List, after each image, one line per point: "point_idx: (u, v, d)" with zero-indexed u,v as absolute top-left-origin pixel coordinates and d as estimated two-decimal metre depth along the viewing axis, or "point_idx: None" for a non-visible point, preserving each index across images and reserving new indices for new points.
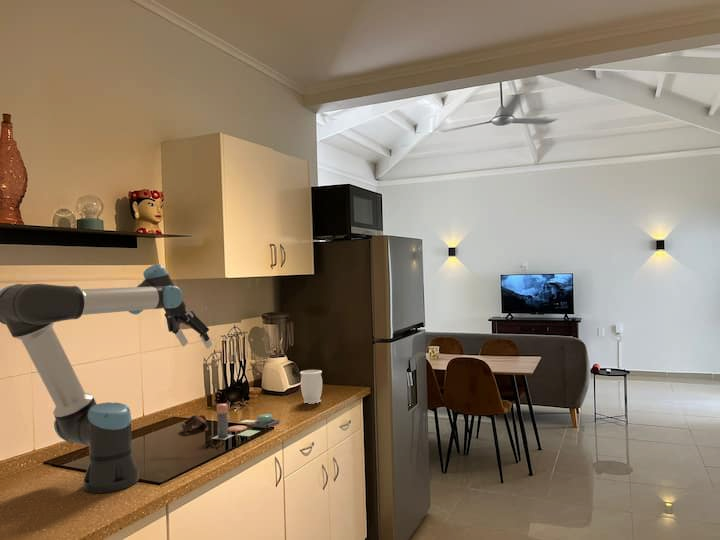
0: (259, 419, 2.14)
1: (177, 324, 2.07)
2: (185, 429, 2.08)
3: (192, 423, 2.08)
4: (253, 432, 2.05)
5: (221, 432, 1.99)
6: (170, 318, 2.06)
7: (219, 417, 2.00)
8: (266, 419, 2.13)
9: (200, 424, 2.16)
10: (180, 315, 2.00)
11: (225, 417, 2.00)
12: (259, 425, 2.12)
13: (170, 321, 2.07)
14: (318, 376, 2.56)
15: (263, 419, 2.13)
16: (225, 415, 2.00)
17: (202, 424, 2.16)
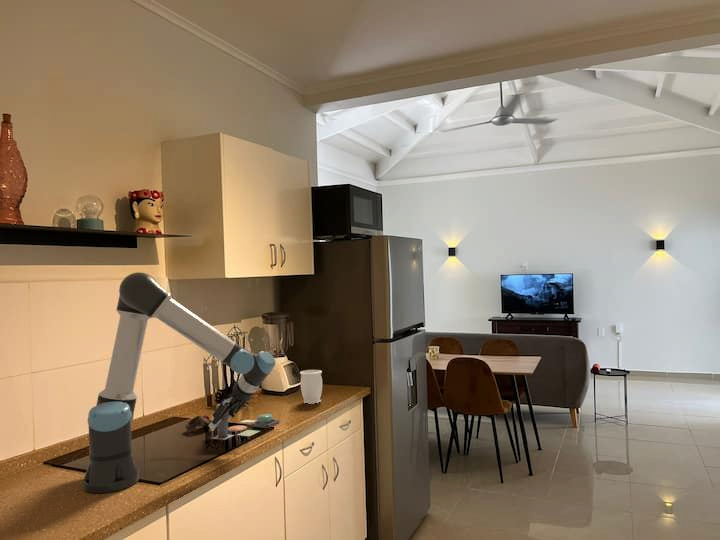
0: (259, 419, 2.14)
1: None
2: (189, 430, 2.07)
3: (196, 423, 2.07)
4: (253, 432, 2.05)
5: (221, 432, 1.99)
6: None
7: None
8: (266, 419, 2.13)
9: (204, 424, 2.15)
10: None
11: (225, 417, 2.00)
12: (259, 425, 2.12)
13: None
14: (318, 376, 2.56)
15: (263, 419, 2.13)
16: (225, 415, 2.00)
17: (206, 424, 2.15)
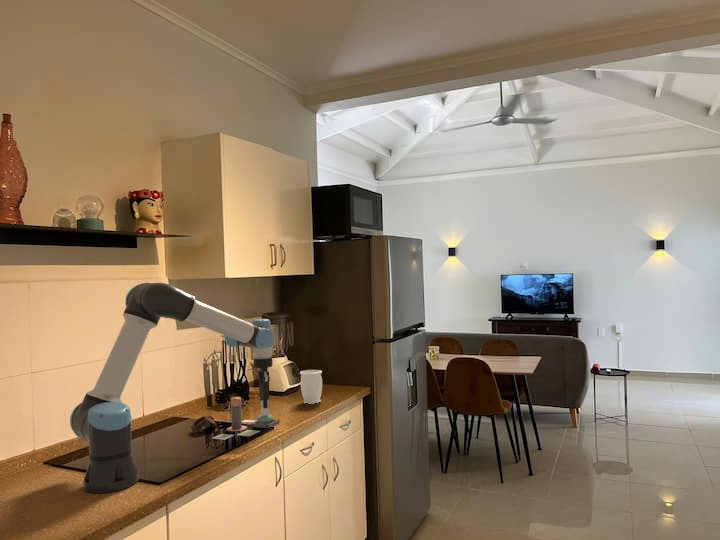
0: (259, 419, 2.14)
1: None
2: (195, 430, 2.06)
3: (202, 424, 2.06)
4: (253, 432, 2.05)
5: (235, 424, 2.10)
6: None
7: (233, 410, 2.10)
8: (266, 419, 2.13)
9: (209, 425, 2.14)
10: (261, 370, 2.14)
11: (239, 410, 2.11)
12: (259, 425, 2.12)
13: None
14: (318, 376, 2.56)
15: (263, 419, 2.13)
16: (239, 408, 2.11)
17: (211, 425, 2.14)
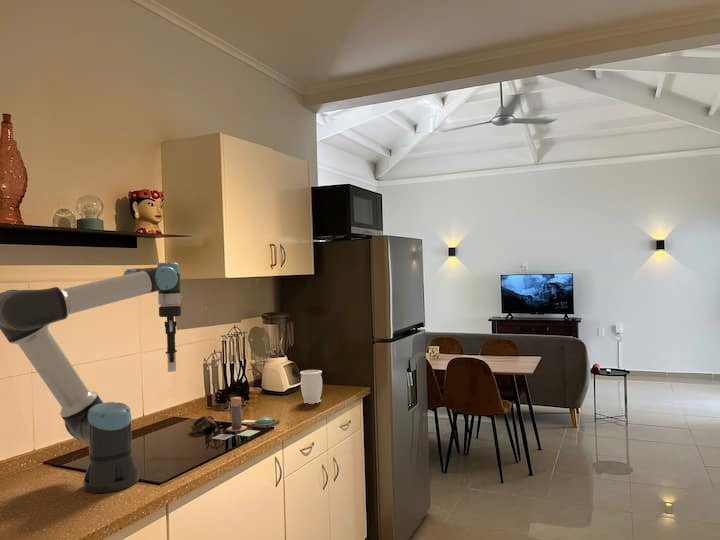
0: (259, 422, 2.14)
1: None
2: (195, 430, 2.06)
3: (202, 424, 2.06)
4: (253, 432, 2.05)
5: (235, 424, 2.10)
6: None
7: (233, 410, 2.10)
8: (266, 422, 2.13)
9: (209, 425, 2.14)
10: (167, 319, 1.89)
11: (239, 410, 2.11)
12: (259, 425, 2.12)
13: None
14: (318, 376, 2.56)
15: (263, 422, 2.13)
16: (239, 408, 2.11)
17: (211, 425, 2.14)
